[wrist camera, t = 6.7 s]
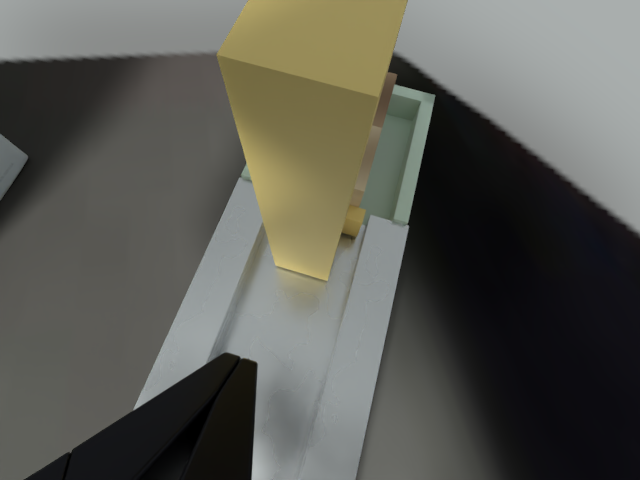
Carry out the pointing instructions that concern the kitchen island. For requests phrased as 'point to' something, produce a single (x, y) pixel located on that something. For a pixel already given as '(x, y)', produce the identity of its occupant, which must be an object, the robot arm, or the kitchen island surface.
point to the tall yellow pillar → (308, 114)
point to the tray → (396, 156)
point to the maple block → (366, 166)
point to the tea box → (9, 164)
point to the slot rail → (290, 338)
